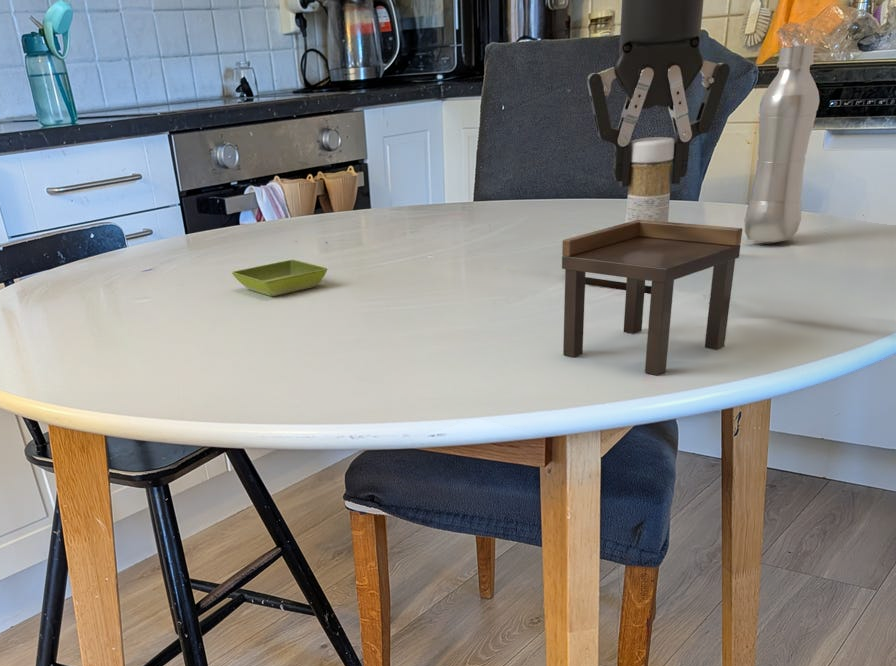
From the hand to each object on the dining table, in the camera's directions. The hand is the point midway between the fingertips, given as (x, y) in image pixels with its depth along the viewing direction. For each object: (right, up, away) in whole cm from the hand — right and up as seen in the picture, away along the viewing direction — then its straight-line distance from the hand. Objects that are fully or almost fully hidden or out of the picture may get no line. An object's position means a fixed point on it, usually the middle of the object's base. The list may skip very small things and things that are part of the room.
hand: (649, 183), depth 91 cm
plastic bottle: (+19, +1, +16) cm, 25 cm away
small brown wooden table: (-5, -23, -17) cm, 29 cm away
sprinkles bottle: (+1, -8, +5) cm, 10 cm away
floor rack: (+1, -8, +5) cm, 9 cm away
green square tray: (-41, -5, +14) cm, 43 cm away
